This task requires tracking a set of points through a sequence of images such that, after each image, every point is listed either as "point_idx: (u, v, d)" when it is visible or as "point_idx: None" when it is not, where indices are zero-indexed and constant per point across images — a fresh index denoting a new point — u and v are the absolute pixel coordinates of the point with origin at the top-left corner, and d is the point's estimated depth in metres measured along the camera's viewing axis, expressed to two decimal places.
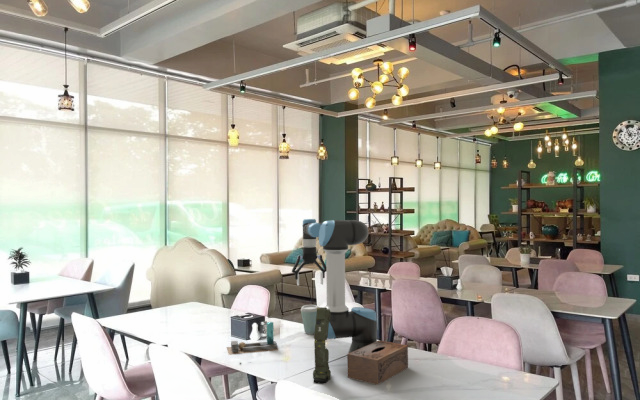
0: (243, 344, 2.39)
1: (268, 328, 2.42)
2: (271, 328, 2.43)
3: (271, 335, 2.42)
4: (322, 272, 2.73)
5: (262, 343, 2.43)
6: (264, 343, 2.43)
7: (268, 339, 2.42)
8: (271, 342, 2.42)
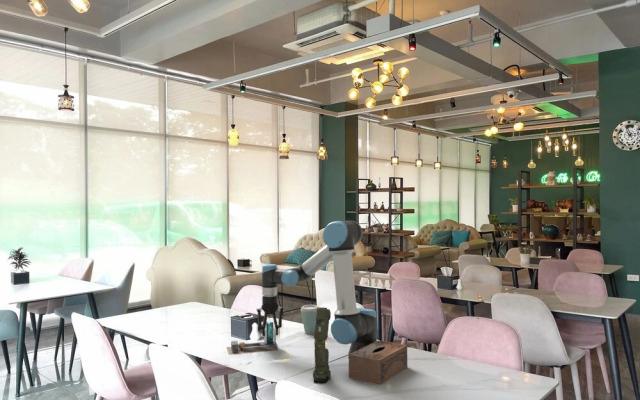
0: (243, 344, 2.39)
1: (268, 328, 2.42)
2: (271, 328, 2.43)
3: (271, 335, 2.42)
4: (275, 328, 2.44)
5: (262, 343, 2.43)
6: (264, 343, 2.43)
7: (268, 339, 2.42)
8: (271, 342, 2.42)
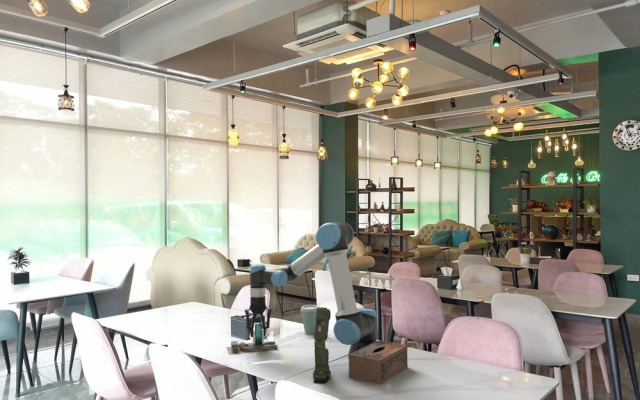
0: (243, 344, 2.39)
1: (256, 329, 2.41)
2: (259, 329, 2.41)
3: (259, 336, 2.41)
4: (263, 329, 2.43)
5: (250, 344, 2.41)
6: (252, 344, 2.41)
7: (256, 340, 2.41)
8: (259, 343, 2.41)
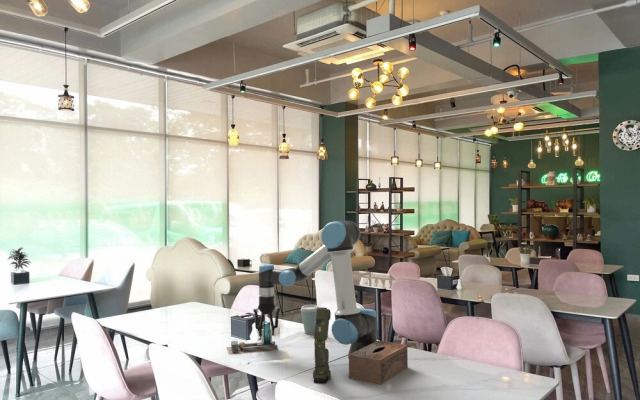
0: (243, 344, 2.39)
1: (265, 328, 2.42)
2: (268, 328, 2.42)
3: (268, 335, 2.42)
4: (271, 329, 2.44)
5: (259, 343, 2.42)
6: (261, 343, 2.42)
7: (265, 339, 2.42)
8: (268, 342, 2.42)
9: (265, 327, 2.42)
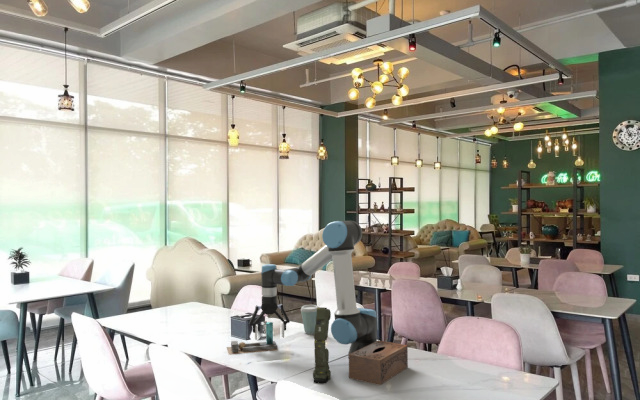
0: (243, 344, 2.39)
1: (267, 328, 2.42)
2: (270, 328, 2.42)
3: (270, 335, 2.42)
4: (283, 324, 2.45)
5: (261, 343, 2.43)
6: (263, 343, 2.43)
7: (267, 339, 2.42)
8: (270, 342, 2.42)
9: (268, 327, 2.42)
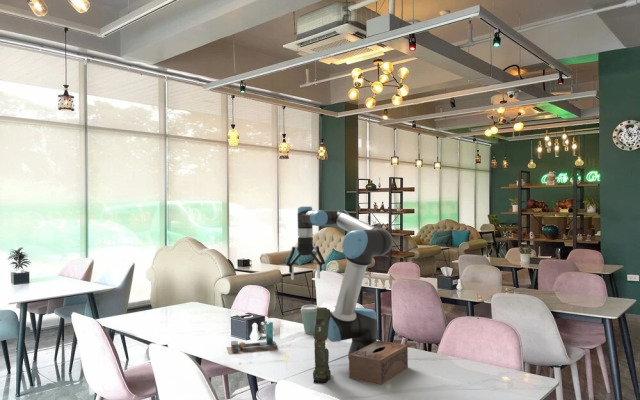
0: (243, 344, 2.39)
1: (267, 328, 2.42)
2: (270, 328, 2.42)
3: (270, 335, 2.42)
4: (319, 265, 2.49)
5: (261, 343, 2.43)
6: (263, 343, 2.43)
7: (267, 339, 2.42)
8: (270, 342, 2.42)
9: (268, 327, 2.42)
